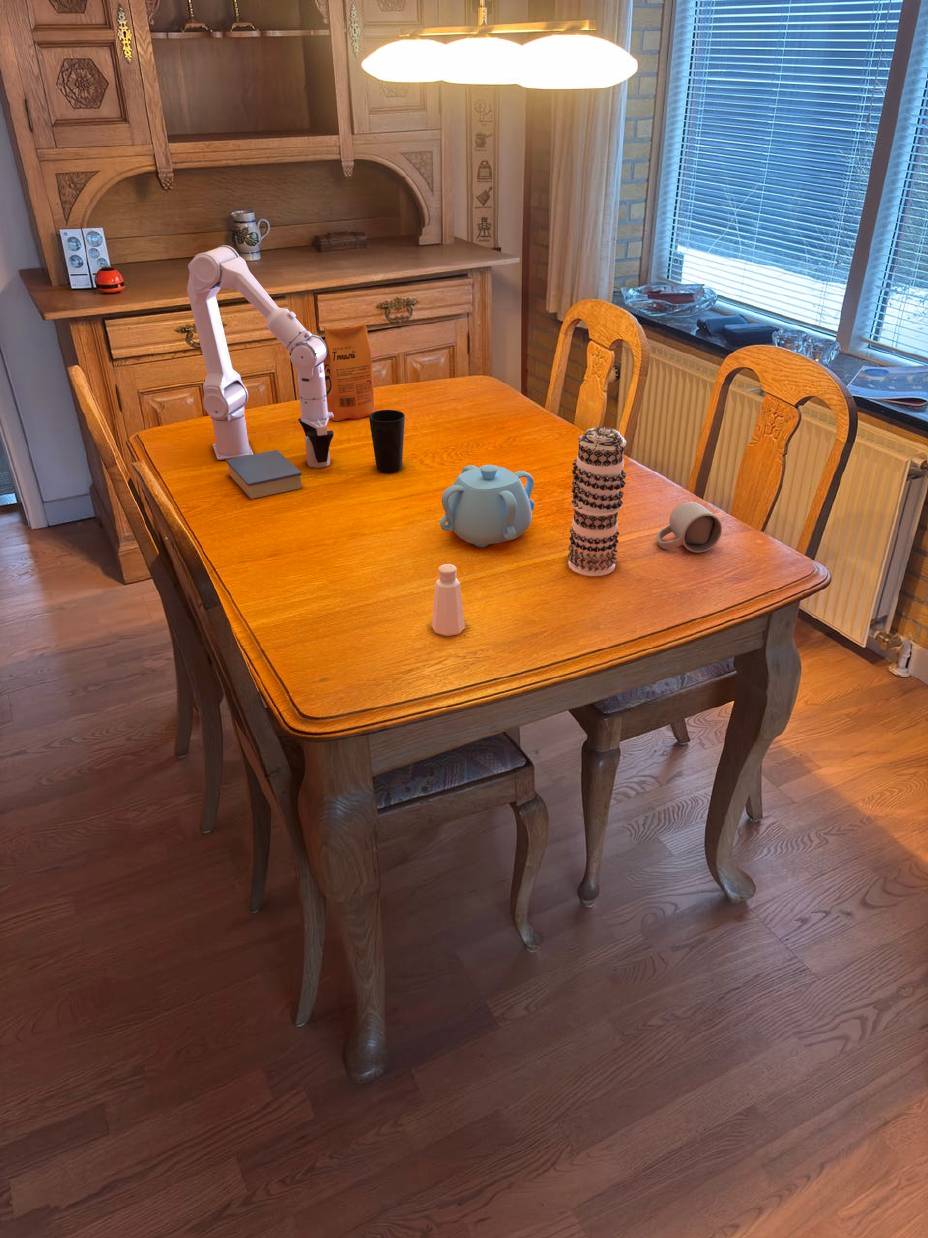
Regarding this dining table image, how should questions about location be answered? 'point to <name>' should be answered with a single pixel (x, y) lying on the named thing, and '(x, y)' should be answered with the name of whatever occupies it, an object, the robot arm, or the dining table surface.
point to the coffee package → (348, 372)
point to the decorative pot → (488, 505)
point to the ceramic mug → (691, 528)
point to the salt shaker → (447, 603)
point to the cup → (387, 439)
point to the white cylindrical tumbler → (311, 456)
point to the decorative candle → (596, 501)
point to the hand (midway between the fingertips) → (318, 455)
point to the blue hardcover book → (264, 474)
